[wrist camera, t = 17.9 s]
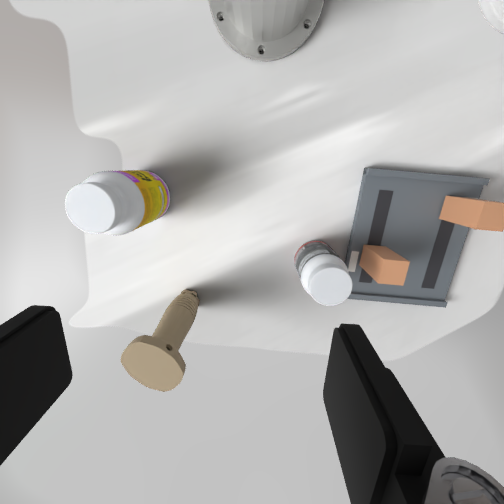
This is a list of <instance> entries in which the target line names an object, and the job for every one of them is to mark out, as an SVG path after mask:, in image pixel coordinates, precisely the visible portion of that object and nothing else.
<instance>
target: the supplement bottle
mask: <svg viewBox="0 0 504 504" xmlns="http://www.w3.org/2000/svg"><path fill="white" fill-rule="evenodd" d="M169 204H170V193H169V189H168V187H167V185H166V183H165V182H164V181H163V180H162V179H161V178H160V177H159V176H158V175H156V174H154V173H152V172H149V171H142V170H134V171H133V170H132V171H102V172H97V173H95V174H93V175H91V176H89V177H88V178H87V179H86V180H85V181H84V182H83V183H81V184H78V185H76V186H74V187H73V188H71V189H70V191H69V192H68V193H67V196H66V199H65V209H66V212H67V215H68V217H69V219H70V221H71V222H72V223H73V224H74V225H75V226H76V227H77V228H79V229H80V230H82V231H84V232H86V233H90V234H100V233H104V234H107V235H123V234H126V233H129V232H131V231H133V230H135V229H137V228H139V227H141V226H143V225H145V224H148V223H150V222H152V221H154V220H156V219H158V218H160V217H161V216H162V215H164V213H165V212H166V211H167V209H168V207H169Z"/></svg>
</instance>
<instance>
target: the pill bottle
mask: <svg viewBox="0 0 504 504" xmlns="http://www.w3.org/2000/svg"><path fill="white" fill-rule="evenodd" d="M294 261H295V267H296V269H297V272H298V275H299V277H300V280H301V283H302V285H303V287H304V289H305V290H306V292H307V293H308V294H310V295H311V296H312V297H313V299H314V300H315V301H316V302H318V303H319V304H321V305H325V306H335V305H338V304H340V303H342V302H344V301H345V300H346V299H347V298H348V297H349V295H350V294H351V291H352V287H353V284H352V279H351V277H350V275H349V272H348V269H347V266H346V265H345V263H344V262H343V260H342V259H341V258H340V257H339V256H338V255H337V254H336V253H335V252H334V251H333V249H332V248H331V247H330V246H329V245H327V244H326V243H324V242H321V241H310V242H307V243H305V244H303V245H302V246H301V247H300V248H299V249H298V250H297V252H296V254H295V260H294Z"/></svg>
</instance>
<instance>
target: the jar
mask: <svg viewBox="0 0 504 504" xmlns="http://www.w3.org/2000/svg"><path fill="white" fill-rule="evenodd" d="M478 3H479V7H480V10H481V12H482V14H483V16H484V18H485V20H486V21H487V22H488V24H489V25H490V26H491V27H493V28H494V29H495V30H497V31H498V32H500V33H502V34H504V0H478Z"/></svg>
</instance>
